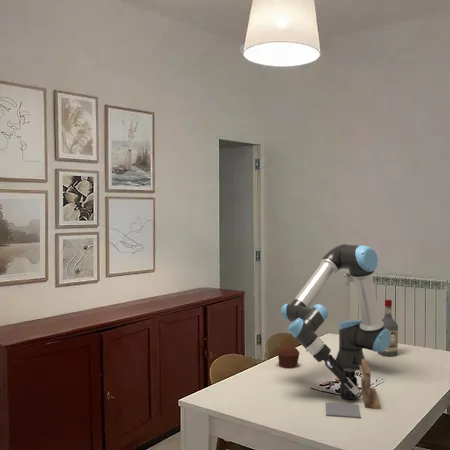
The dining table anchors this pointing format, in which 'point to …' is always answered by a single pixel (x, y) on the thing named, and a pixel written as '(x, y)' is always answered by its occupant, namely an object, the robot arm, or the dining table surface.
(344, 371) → the supplement bottle
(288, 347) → the muffin
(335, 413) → the rubber mat
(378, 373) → the dining table surface
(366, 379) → the board
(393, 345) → the liquor
